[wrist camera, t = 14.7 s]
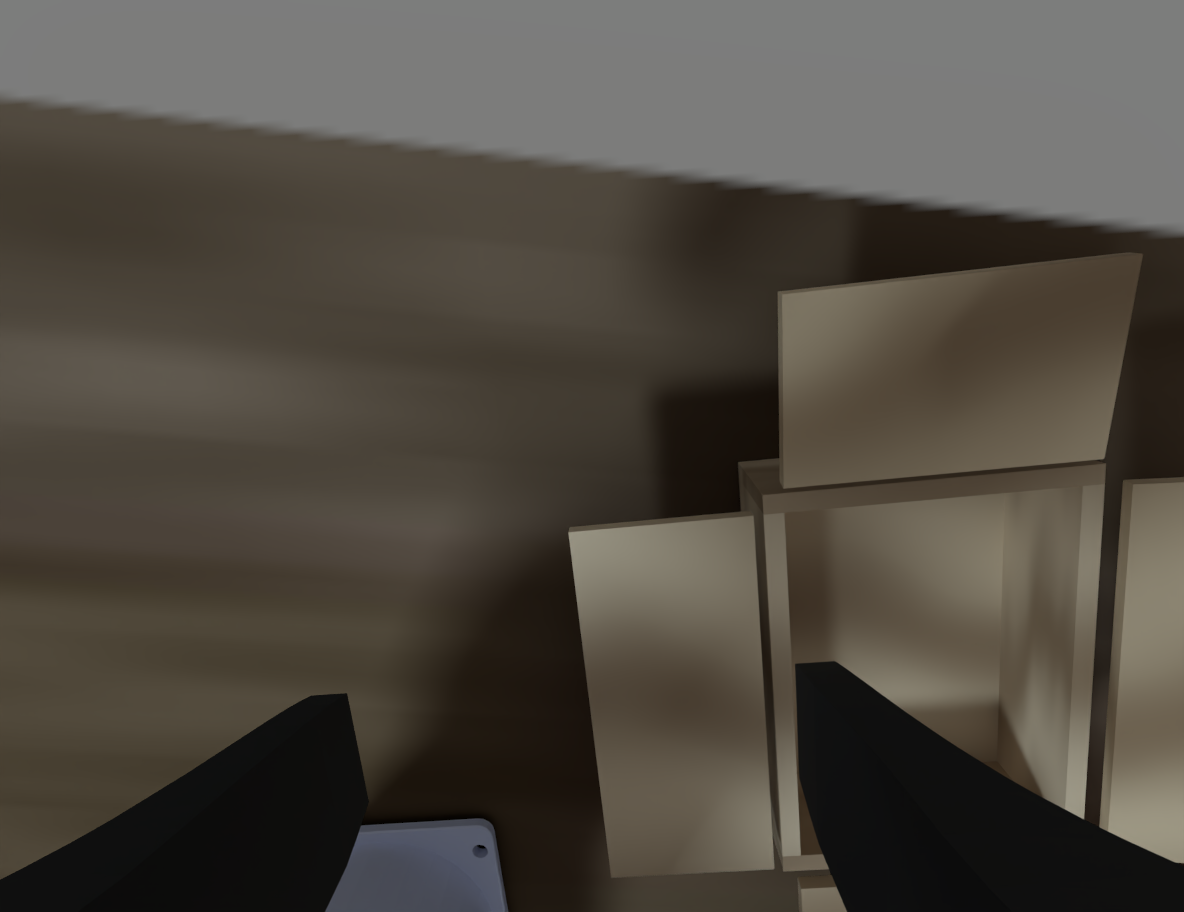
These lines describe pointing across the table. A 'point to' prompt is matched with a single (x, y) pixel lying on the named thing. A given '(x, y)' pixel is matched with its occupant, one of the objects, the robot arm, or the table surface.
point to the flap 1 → (952, 370)
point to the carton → (832, 648)
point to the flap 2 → (1147, 673)
